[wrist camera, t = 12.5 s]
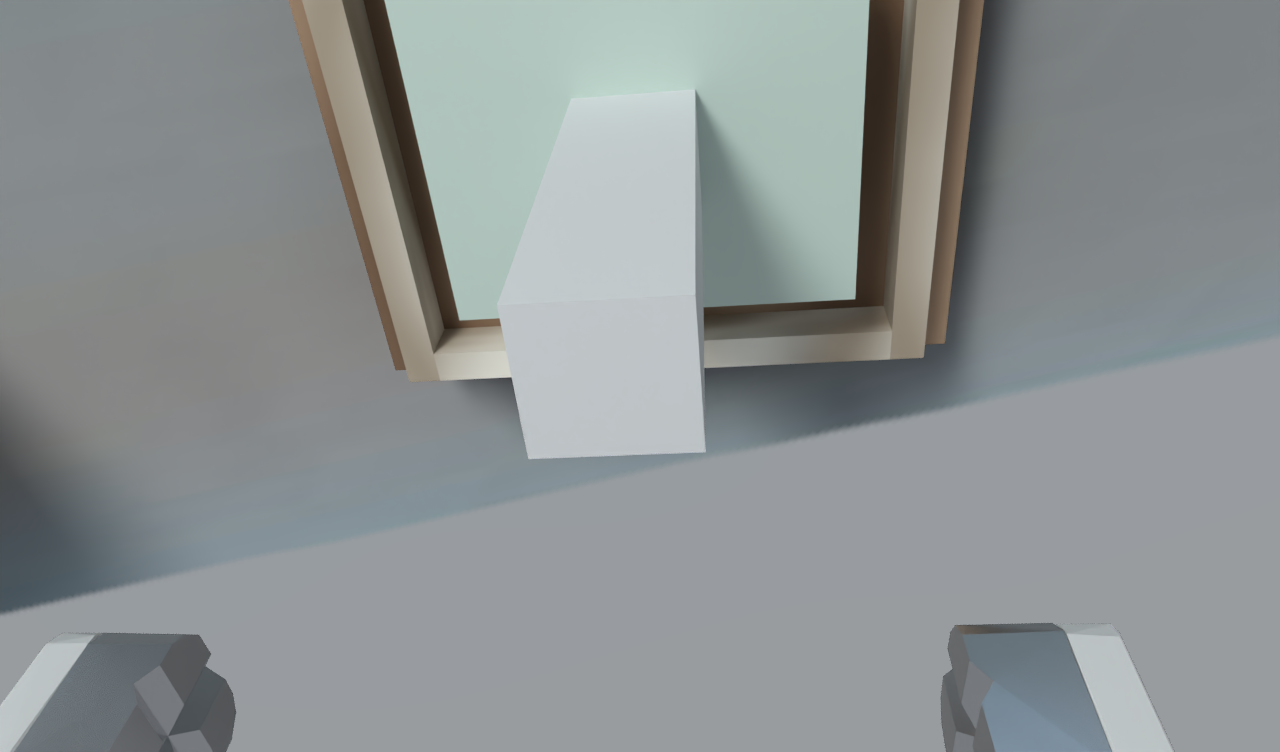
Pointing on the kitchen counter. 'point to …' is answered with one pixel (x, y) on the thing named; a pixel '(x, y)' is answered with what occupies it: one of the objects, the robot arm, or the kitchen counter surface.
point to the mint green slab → (633, 188)
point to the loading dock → (733, 335)
